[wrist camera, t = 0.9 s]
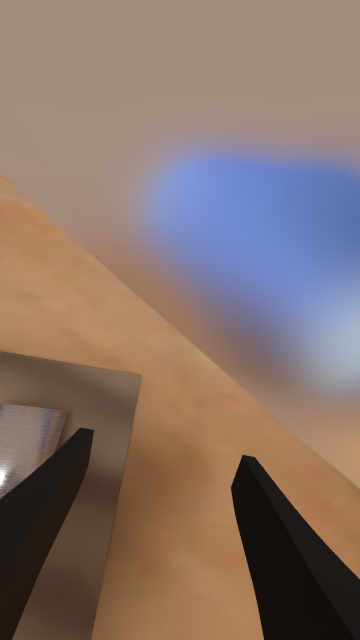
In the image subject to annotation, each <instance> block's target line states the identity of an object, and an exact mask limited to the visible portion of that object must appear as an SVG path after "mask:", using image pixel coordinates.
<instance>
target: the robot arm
mask: <svg viewBox="0 0 360 640" xmlns="http://www.w3.org/2000/svg"><path fill="white" fill-rule="evenodd" d="M93 435H94V430H92V429H86V428H79V429H78V430H77V431H76V432H75V433H74V434H73V435H72V436H71V437H70V438H69V439H68V440H67V441H66V442H65V443H64V444H63V445H62V446H61V447H60V448H59V449H58V450H57V451H56V452H55V453H54V454H53V455H51V456H50V457H49V458H48V459H47V460H46V461H45V462H44V463H43V464H42V465H40V466H39V467H38V468H37V469H36V470H35V471H34V472H32V473H31V474H30V475H29V476H28V477H26V478H25V479H24V480H23V481H22V482H20V483H19V484H18V485H17V486H16V487H14V488H13V489H12V490H11V491H9V492H8V493H7V494H6V495H4V496H3V497H2V498H0V640H12V639H13V636H14V634H15V631H16V629H17V626H18V624H19V621H20V619H21V617H22V614H23V612H24V609H25V607H26V604H27V602H28V599H29V597H30V595H31V592H32V590H33V587H34V585H35V582H36V580H37V578H38V575H39V573H40V571H41V569H42V567H43V564H44V562H45V560H46V558H47V556H48V554H49V552H50V550H51V548H52V545H53V543H54V541H55V539H56V537H57V535H58V533H59V531H60V529H61V527H62V525H63V523H64V521H65V519H66V517H67V515H68V513H69V511H70V508H71V506H72V504H73V502H74V500H75V498H76V496H77V494H78V492H79V489H80V487H81V484H82V482H83V479H84V476H85V474H86V471H87V468H88V466H89V460H90V454H91V447H92V441H93ZM231 491H232V498H233V505H234V511H235V516H236V520H237V524H238V528H239V532H240V536H241V540H242V544H243V548H244V551H245V555H246V559H247V563H248V567H249V571H250V575H251V579H252V582H253V586H254V591H255V595H256V600H257V604H258V609H259V615H260V620H261V625H262V631H263V636H264V640H360V579H359V578H358V577H357V576H356V575H355V574H354V573H353V572H352V571H351V570H350V569H349V568H348V567H347V566H346V565H345V564H344V563H343V562H342V561H341V560H340V558H339V557H338V556H337V555H336V554H335V553H334V552H333V551H332V550H331V549H330V548H329V547H328V546H327V545H326V544H325V542H324V541H323V540H322V539H321V538H320V537H319V536H318V535H317V534H316V532H315V531H314V530H313V529H312V528H311V527H310V525H309V524H308V523H307V522H306V521H305V520H304V518H303V517H302V516H301V515H300V514H299V512H298V511H297V510H296V509H295V508H294V506H293V505H292V504H291V503H290V501H289V500H288V499H287V498H286V496H285V495H284V494H283V493H282V491H281V490H280V489H279V488H278V486H277V485H276V484H275V482H274V481H273V480H272V479H271V477H270V476H269V475H268V473H267V472H266V471H265V469H264V468H263V467H262V466H261V464H260V463H259V462H258V461H257V459H256V458H255V457H252V456H246V455H242V458H241V461H240V464H239V466H238V469H237V472H236V475H235V478H234V480H233V483H232V486H231Z"/></svg>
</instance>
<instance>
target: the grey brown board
mask: <svg viewBox="0 0 360 640" xmlns="http://www.w3.org/2000/svg"><path fill="white" fill-rule="evenodd" d="M141 377H142V376H141V375H136V374H130V373H124V372H118V371H112V370H106V369H101V368H95V367H89V366H83V365H77V364H71V363H66V362H60V361H54V360H48V359H42V358H36V357H31V356H25V355H19V354H13V353H7V352H1V351H0V402H2V403H12V404H21V405H30V406H38V407H46V408H53V409H60V410H66V411H68V412H67V415H66V418H65V421H64V425H63V428H62V431H61V434H60V437H59V440H58V444H57V447H56V450H55V452H56V451H57V450H58V449H59V448H60V447H61V446H62V445H63V444H64V443H65V442H66V441H67V440H68V439H69V438H70V437H71V436H72V435H73V434H74V433H75V432H76V431H77V430H78V429H79V428H86V429H92V430H94V435H93V441H92V447H91V454H90V460H89V466H88V468H87V471H86V474H85V476H84V479H83V482H82V484H81V487H80V489H79V492H78V494H77V496H76V498H75V500H74V502H73V504H72V506H71V508H70V511H69V513H68V515H67V517H66V519H65V521H64V523H63V525H62V527H61V529H60V531H59V533H58V535H57V537H56V539H55V541H54V543H53V545H52V548H51V550H50V552H49V554H48V556H47V558H46V560H45V562H44V564H43V567H42V569H41V571H40V573H39V575H38V578H37V580H36V582H35V585H34V587H33V590H32V592H31V595H30V597H29V599H28V602H27V604H26V607H25V609H24V612H23V614H22V617H21V619H20V621H19V624H18V626H17V629H16V631H15V634H14V636H13V639H12V640H91V636H92V631H93V625H94V620H95V615H96V610H97V605H98V600H99V594H100V589H101V584H102V579H103V574H104V569H105V563H106V558H107V553H108V548H109V543H110V538H111V532H112V527H113V522H114V517H115V512H116V506H117V501H118V496H119V491H120V486H121V481H122V475H123V470H124V465H125V460H126V455H127V450H128V444H129V439H130V434H131V429H132V424H133V419H134V413H135V408H136V403H137V398H138V393H139V388H140V382H141Z"/></svg>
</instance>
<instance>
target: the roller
mask: <svg viewBox="0 0 360 640" xmlns="http://www.w3.org/2000/svg"><path fill="white" fill-rule="evenodd" d="M67 412H68V411H66V410H60V409H53V408H46V407H38V406H30V405H21V404H12V403H2V402H0V498H2V497H3V496H4V495H6V494H7V493H8V492H9V491H11V490H12V489H13V488H14V487H16V486H17V485H18V484H19V483H20V482H22V481H23V480H24V479H25V478H26V477H28V476H29V475H30V474H31V473H32V472H34V471H35V470H36V469H37V468H38V467H39V466H40V465H42V464H43V463H44V462H45V461H46V460H47V459H48V458H49V457H50V456H51V455H53V454H54V453H55V450H56V447H57V444H58V440H59V437H60V434H61V431H62V428H63V425H64V421H65V418H66V415H67Z"/></svg>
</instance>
